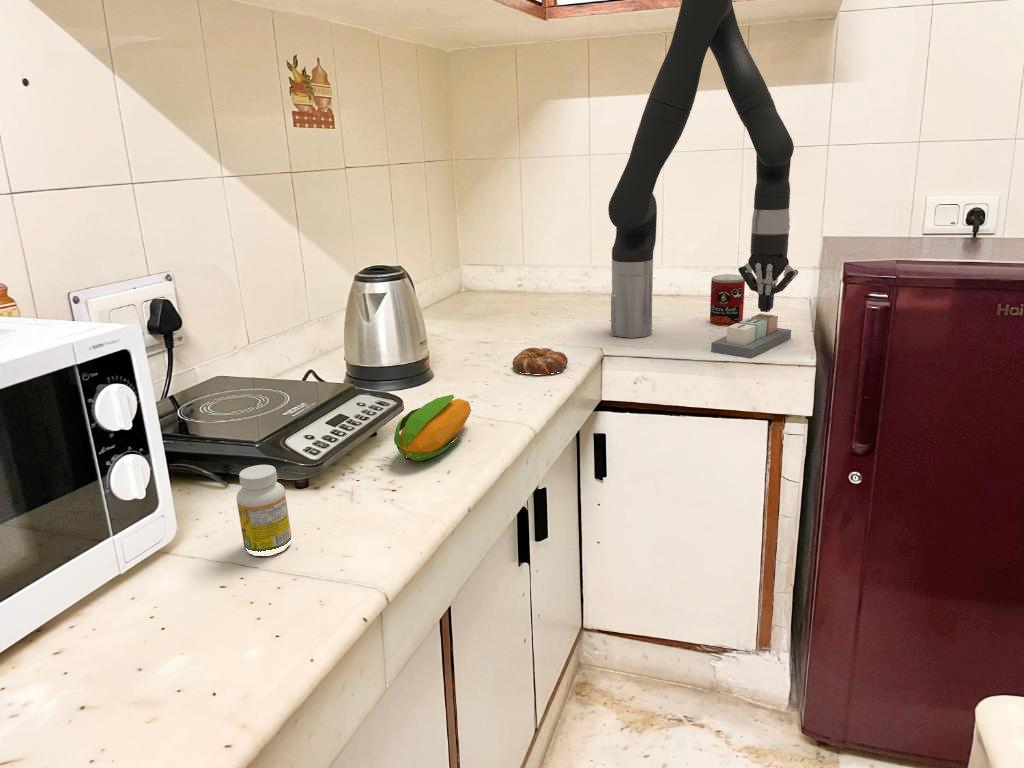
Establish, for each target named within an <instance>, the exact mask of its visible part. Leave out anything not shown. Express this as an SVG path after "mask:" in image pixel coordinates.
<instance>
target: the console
mask: <svg viewBox="0 0 1024 768" xmlns="http://www.w3.org/2000/svg"><path fill="white" fill-rule="evenodd" d="M791 337H792V329H789V328H780V327H777V331H776V332H774V333H771V334H766V336H765V337H763V338H761V339H759V340H754V342H752V343H750V344H748V345H739V344H733V343H726V340H727V335H725V336H723V337H720V338H719V339H716V340H714V341H711V345H710V346H711V348H710V349H711V350H710V351H711V352H712V353H719V354H722V355H723V354H724V355H729V356H736V357H742V358H746V359H747V358H748V359H753V358H755V357H757V356H759V355H761V354H763V353H765V352H767V351H768V350H771V349H773V348H775V347H777V346H779V345H781V344H782V343H784V342H786V341H789V340H791V339H792V338H791Z"/></svg>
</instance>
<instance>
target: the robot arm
mask: <svg viewBox="0 0 1024 768" xmlns="http://www.w3.org/2000/svg"><path fill="white" fill-rule="evenodd" d="M677 16H678V17H677V21H676V24H675V28H674V32H673V35H672V38H671V42H670V45H669V48H668V50H667V53H666V55H665V57H664V59H663V62H662V64H661V66H660V68H659V71H658V72H657V73H658V74H657V76H656V78H655V81H654V83H653V85H652V88H651V91H650V93H649V96H648V98H647V101H646V104H645V107H644V110H643V113H642V116H641V119H640V121H639V125H638V128H637V131H636V134H635V137H634V140H633V143H632V147H631V150H630V154H629V156H628V157H629V158H628V160H627V162H626V164H625V168H624V170H623V172H622V174H621V177H620V179H619V181H618V183H617V184H616V187H615V189H614V190H613V193H612V195H611V197H610V200H609V203H608V207H607V209H608V217H609V219H610V222H611V223H612V226H614V227H615V228H616V229H615V238H614V243H613V246H612V249H611V295H610V336H612V337H613V336H614V337H621V338H630V339H631V338H643V337H647V336H650V335H652V333H653V292H654V290H653V285H654V284H653V282H654V281H653V280H654V278H653V277H654V251H655V246H656V241H657V240H656V239H657V219H658V218H657V217H658V209H657V208H658V207H657V206H658V205H657V200H656V197H655V195H654V189H655V187H656V183H657V180H658V178H659V175H660V173H661V171H662V169H663V168H664V165H665V164H666V162H667V160H668V159H669V157H670V155H671V154H672V153H673V151H674V148H676V146H677V144H678V142H679V140H680V139H681V136H682V134H683V132H684V130H685V127H686V125H687V123H688V120H689V118H690V116H691V115H690V114H691V111H692V109H693V106H694V103H695V100H696V96H697V92H698V87H699V83H700V79H701V75H702V74H701V73H702V68H703V64H704V60H705V57H706V54H707V52H708V51H709V50H708V49H710V51H711V53H712V55H713V57H714V59H715V60H716V63H717V65H718V68H719V70H720V71H719V72H720V74H721V76H722V79H723V82H724V85H725V88H726V91H727V93H728V96H729V98H730V100H731V102H732V104H733V107H734V108H735V110H736V113H737V115H738V116H739V119H740V121H741V123H742V124H743V126H744V127H745V129H746V131H747V133H748V136H749V138H750V140H751V144H752V145H753V148H754V150H755V152H756V157H755V158H756V162H755V163H756V172H755V173H756V181H755V182H756V183H755V189H754V195H753V197H754V199H753V200H754V201H753V213H752V218H751V219H752V220H751V231H750V234H751V236H750V257H749V258H748V262H747V263H746V264H744V265H743V266H739V267H738V272H739V275H741V276H742V277H743V279H744V280H745V284H746V285H747V287H748V288H749V289H750V291H752V292H755V293H757V295H758V299H757V300H758V301H757V307H758V309H759V311H760V313H761V312H762V313H769V312H770V311H771V310H772V309H773V308H774V300H775V294H778V293H781V292H783V291H784V290H785V289H786V288H787V286H789V285H790V284H791V282H792V281H793V280H794V279H795V278H796V276H798V274H799V270H798V269H793V267H792V266H790V265H789V264H790V261H789V259H788V251H789V250H788V249H789V236H790V232H789V231H790V227H791V226H790V220H791V219H790V217H791V216H790V203H791V202H790V199H791V184H790V171H791V160H792V157H793V154H794V150H795V149H794V147H795V145H794V141H793V139H792V137H791V135H790V133H789V131H788V129H787V127H786V125H785V123H784V121H783V120H782V118H781V116H780V114H779V113H778V110H777V108H776V105H775V102H774V99H773V97H772V94H771V92H770V90H769V88H768V86H767V83H766V82H765V79H764V77H763V76H762V74H761V72H760V70H759V68H758V66H757V64H756V62H755V60H754V59H753V57H752V55H751V53H750V52H749V49H748V47H747V45H746V43H745V40H744V38H743V35H742V33H741V30H740V27H739V25H738V21H737V20H738V19H737V17H736V13H735V8H734V6H733V0H681V3H680V8H679V12H678V15H677ZM782 274H783V276H784V277H782V279H781V280H780V281H778V280H779V277H780V276H781V275H782ZM755 276H756V277H755Z"/></svg>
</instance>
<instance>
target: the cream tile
mask: <svg viewBox="0 0 1024 768" xmlns="http://www.w3.org/2000/svg"><path fill="white" fill-rule="evenodd" d="M726 336H727V340H726V343H733V344H739V345H748V344H750V343H752V342H754V340H755V326H753V325H746V324H739V323H736V324H734V325H731V326H726Z"/></svg>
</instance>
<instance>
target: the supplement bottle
mask: <svg viewBox="0 0 1024 768" xmlns="http://www.w3.org/2000/svg"><path fill="white" fill-rule="evenodd" d="M238 476H239V484H240V487H242V488H240V489H239V490H238V492H237V494H236V503H237V505H236V506H237V509H238V514H239V515H238V516H239V523H240V527H241V534H242V535H241V536H242V540H243V545H244V546H243V547H244V549H245V548H247V549H248V550H252V551H258V552H259V551H260V552H261V551H266V550H272V549H276V548H279V547H281V546H284V545H285V544H287V543H288V542H289V541H290V540H291V536H292V532H291V531H292V530H291V524H290V517H289V515H290V514H289V510H288V509H289V508H288V503H287V501H288V500H287V495H286V489H285V487H284V486H283V484H281V483H280V482H278V473H277V469H276V467H275V466H273V465H270V464H257V465H252V466H248V467H246V468H243V469H242V470H241V471H240V472H239V474H238Z"/></svg>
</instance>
